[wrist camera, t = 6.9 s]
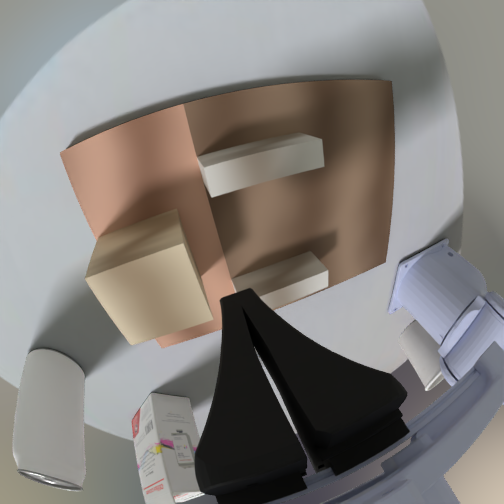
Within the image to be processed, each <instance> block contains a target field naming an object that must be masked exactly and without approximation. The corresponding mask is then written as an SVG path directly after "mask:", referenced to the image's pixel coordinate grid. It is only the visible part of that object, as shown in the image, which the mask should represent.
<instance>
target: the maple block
mask: <svg viewBox="0 0 504 504" xmlns="http://www.w3.org/2000/svg"><path fill="white" fill-rule="evenodd" d="M85 280H86V281H87V283H88V285H89V286H90V288H91V289H92V291H93V292H94V294H95V296H96V297H97V299H98V300H99V302H100V303H101V305H102V306H103V307H104V309H105V310H106V312H107V313H108V315H109V316H110V317H111V319H112V320H113V322H114V323H115V324H116V326H117V327H118V328H119V330H120V331H121V332H122V334H123V335H124V336H125V338H126V339H127V340H128V342H129V343H130V344H131V345H134V344H138V343H141V342H145V341H148V340H151V339H155V338H158V337H161V336H165V335H168V334H171V333H174V332H177V331H180V330H184V329H187V328H190V327H193V326H196V325H199V324H202V323H205V322H208V321H211V320H214V319H213V316H212V312H211V309H210V306H209V302H208V299H207V295H206V292H205V289H204V285H203V282H202V278H201V275H200V272H199V270H198V267H197V264H196V262H195V259H194V256H193V253H192V251H191V248H190V245H189V242H188V239H187V237H186V234H185V231H184V228H183V225H182V222H181V219H180V216H179V213H178V210H177V209H174V210H171V211H168V212H165V213H162V214H159V215H156V216H154V217H151V218H148V219H145V220H143V221H140V222H137V223H134V224H132V225H129V226H127V227H124V228H121V229H119V230H116V231H114V232H111V233H108V234H106V235H103V236H101V237H98V239H97V242H96V245H95V248H94V251H93V254H92V257H91V260H90V263H89V266H88V270H87V273H86V276H85Z"/></svg>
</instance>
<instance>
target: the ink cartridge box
mask: <svg viewBox="0 0 504 504" xmlns="http://www.w3.org/2000/svg"><path fill="white" fill-rule="evenodd" d="M132 429H133V438H134V445H135V452H136V459H137V465H138V470H139V475H140V480H141V485H142V490H143V495H144V498H145V502H146V504H176V502H184V501H187V500H190V499H192V498H195V497H199V496H201V495H204V493H202V492H200V490H199V486H198V483H197V480H196V475H195V465H194V459H195V451H196V449H197V446H198V444H199V441H200V437H199V434H198V430H197V427H196V423H195V419H194V416H193V412H192V408H191V403H190V399H189V398H188V397H179V396H171V395H164V394H158V393H150V395H149V396H148V398H147V399H146V400H145V402H144V403H143V405H142V406H141V408H140V409H139V411H138V412H137V414H136V415H135V416H134V418H133V420H132Z"/></svg>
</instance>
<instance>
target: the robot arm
mask: <svg viewBox="0 0 504 504" xmlns="http://www.w3.org/2000/svg"><path fill="white" fill-rule="evenodd" d="M448 244H449V240H448V239H447V238H446V239H444V240H442V241H440V242H439V243H437V244H435V245H433V246H431V247H430V248H428V249H426V250H424V251H422V252H420V253H418V254H417V255H415V256H413V257H411V258H409V259H407V260H405V261H403V262H401V263H400V264H399V266H398V271H397V276H396V281H395V285H394V289H393V294H392V298H391V302H390V306H389V310H388V312H389V313H390V314H392V313H394V312H395V311H397V310H399V309H400V308H402V307H404V308H405V309H406V310H407V311H408V312H409V313H410V314H411V315H412V316H413V317H414V318H415V319H416V320H417V321H418V322H419V323H420V324H421V326H422V327H423V328H424V329H425V330H426V331H427V332H428V333H429V334H430V335H431V336H432V338H433V339H434V340H435V341H436V342H437V343H438V344H439V345H440V346H441V347H440V348H439V349H438V352H439V353H440V355H441V356H440V358H439V362H440V369H441V372H442V374H443V376H444V378H445V379H446V381H447V382H448V383H449V384H450V385H451V386H452V387H451V388H450V389H449V390H448V391H446V392H445V393H444V394H443V395H442V396H441V397H439V398H438V399H437V400H436V401H435V402H433V403H432V404H431V405H430V406H428V407H427V408H426V409H425V410H423V411H422V412H421V413H419V414H418V415H417V416H415V417H414V418H413V419H411V420H410V421H408V422H407V423H406V424H405V423H404V422H403V420H402V419H401V417H402V416H403V415H402V413H401V411H400V410H399V409H398V408H399V407H400V406H401V404H402V403H403V402H404V400H405V399H406V397H407V391H406V390H405V389H404V387H403V386H402V385H401V384H400V383H399V382H398V381H397V380H396V379H395V378H394V377H393V376H392V375H391V374H389V373H386V372H383V371H379V370H376V369H373V368H370V367H367V366H364V365H362V364H359V363H357V362H354V361H352V360H349V359H347V358H345V357H343V356H341V355H339V354H337V353H334V352H332V351H330V350H328V349H327V348H325V347H323V346H321V345H319V344H318V343H316V342H314V341H313V340H311V339H310V338H308V337H306V336H305V335H303V334H302V333H301V332H299V331H298V330H296V329H295V328H294V327H292V326H291V325H290V324H288V323H287V322H286V321H285V320H283V319H282V318H281V317H280V316H279V315H278V314H276V313H275V312H274V311H273V310H272V309H271V308H270V307H269V306H268V305H267V304H266V303H264V302H263V300H262V299H261V298H260V297H259V296H258V295H257V294H256V293H255V292H254V290H253V289H251V288H248V289H245V290H242V291H239V292H236V293H233V294H231V295H228V296H225V297H222V298H221V299H220V300H219V301H220V305H221V313H222V344H221V356H220V365H219V372H218V378H217V383H216V388H215V392H214V397H213V401H212V405H211V408H210V412H209V415H208V418H207V422H206V425H205V428H204V431H203V433H202V436H201V438H200V441H199V444H198V446H197V449H196V451H195V459H194V465H195V475H196V480H197V483H198V486H199V490H200V492H202V493H204V494H208V495H215V496H216V499H217V502H218V504H280V503H283V502H286V501H288V500H291V499H294V498H297V497H300V496H302V495H305V494H307V493H310V492H312V491H315V490H317V489H319V488H322V487H324V486H327V485H329V484H331V483H333V482H335V481H337V480H340V479H342V478H344V477H346V476H348V475H350V474H352V473H353V472H355V471H357V470H359V469H361V468H363V467H364V466H366V465H368V464H370V463H372V462H373V461H375V460H376V459H378V458H380V457H382V456H383V455H385V454H386V453H388V452H390V451H391V450H393V449H394V448H396V447H397V446H399V445H400V444H402V443H403V442H405V441H406V440H407V439H409V438H410V437H412V438H411V443H410V444H409V445H408V446H407V447H405V448H404V449H402V450H401V451H399V452H398V453H396V454H395V455H393V456H392V457H390V458H389V459H387V460H385V461H384V462H382V463H381V467H382V468H383V470H384V472H383V473H381V474H379V475H378V476H376V477H374V478H372V479H370V480H369V481H367V482H365V483H363V484H361V485H359V486H357V487H355V488H353V489H351V490H349V491H347V492H345V493H343V494H341V495H339V496H337V497H334V498H332V499H330V500H328V501H325V502H323V503H321V504H460V502H459V501H458V499H457V497H456V496H455V494H454V492H453V491H452V489H451V488H450V486H449V484H448V483H447V481H446V480H445V478H444V476H443V475H444V474H445V473H446V472H447V471H448V470H449V469H450V468H451V467H452V466H453V465H454V464H455V463H456V462H457V461H458V460H459V459H460V458H461V457H462V455H463V454H464V453H465V452H466V451H467V450H468V449H469V448H470V446H471V445H472V444H473V443H474V442H475V440H476V439H477V438H478V437H479V435H480V434H481V433H482V431H483V430H484V429H485V428H486V426H487V425H488V424H489V422H490V421H491V420H492V418H493V417H494V415H495V414H496V413H497V411H498V410H499V408H500V407H501V405H502V404H503V405H504V299H503V298H502V297H501V296H500V295H499V294H497V293H496V292H494V291H492V292H487V286H486V282H485V279H484V277H483V275H482V274H481V272H480V271H479V270H478V269H477V268H476V267H474V266H473V265H472V264H471V263H470V262H468V261H467V260H466V259H464V258H463V257H462V256H461V255H459V254H458V253H457V252H455V251H454V250H453V249H451V248H450V247H449V246H448ZM254 347H255V348H256V350H257V352H258V354H259V356H260V358H261V360H262V361H263V363H264V365H265V367H266V369H267V370H268V372H269V374H270V376H271V377H272V379H273V381H274V383H275V385H276V387H277V389H278V391H279V392H280V395H281V397H282V399H283V401H284V404H285V406H286V408H287V410H288V413H289V415H290V417H291V419H292V421H293V424H294V426H295V428H296V430H297V433H298V435H299V437H300V439H301V441H302V444H303V446H304V448H305V450H306V452H307V455H308V457H309V459H310V461H311V464H312V466H313V468H314V470H315V472H316V474H314V475H311V476H309V477H306V478H304V479H303V478H302V476H305V475H307V474H306V468H307V456H306V454H305V453H304V450H303V448H302V446H301V444H300V442H299V440H298V438H297V436H296V435H295V433H294V431H293V429H292V427H291V425H290V423H289V421H288V419H287V417H286V415H285V413H284V411H283V409H282V408H281V405H280V403H279V401H278V399H277V397H276V395H275V393H274V391H273V389H272V387H271V385H270V383H269V381H268V379H267V376H266V374H265V372H264V370H263V368H262V366H261V363H260V361H259V359H258V357H257V354H256V352H255V348H254Z"/></svg>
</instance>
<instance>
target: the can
mask: <svg viewBox="0 0 504 504" xmlns="http://www.w3.org/2000/svg"><path fill="white" fill-rule="evenodd" d="M84 391H85V375H84V372H83V370H82V369H81V368H80V366H79V365H78V364H77V363H76V362H75V361H74V360H73V359H72V358H70V357H69V356H67V355H65V354H63V353H61V352H59V351H56V350H53V349H48V348H39V349H35V350H33V351H31V352H30V353H29V354H28V355H27V357H26V361H25V365H24V369H23V373H22V378H21V382H20V387H19V393H18V399H17V406H16V413H15V422H14V431H13V432H14V433H13V456H14V458H15V461H16V463H17V466H18V470H17V472H18V473H19V474H20V475H22V476H24V477H26V478H28V479H31V480H33V481H36V482H38V483H41V484H44V485H47V486H51V487H55V488H59V489H64V490H71V491H82V490H83V488H82V483H83V481H84V478H85V476H86V465H85V450H84Z"/></svg>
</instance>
